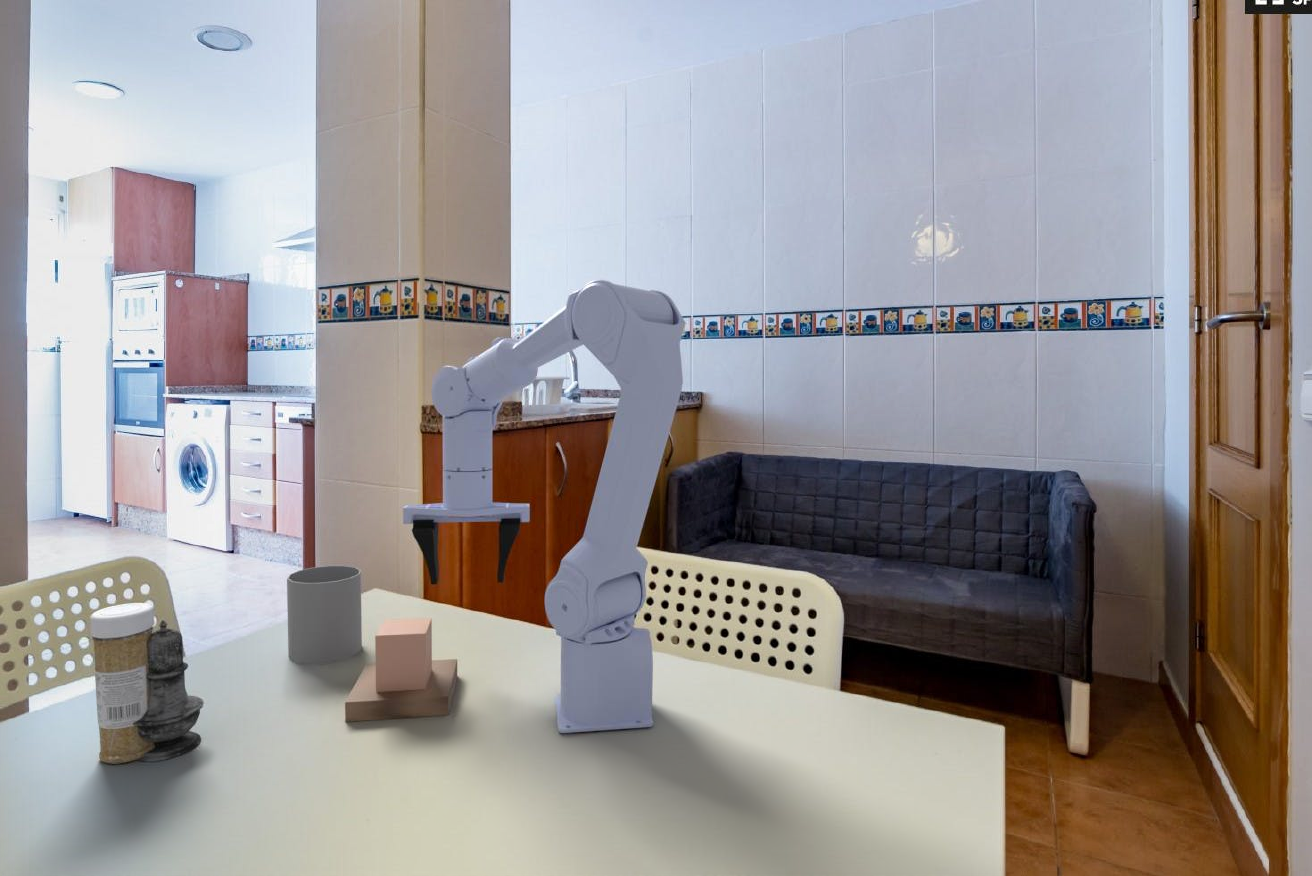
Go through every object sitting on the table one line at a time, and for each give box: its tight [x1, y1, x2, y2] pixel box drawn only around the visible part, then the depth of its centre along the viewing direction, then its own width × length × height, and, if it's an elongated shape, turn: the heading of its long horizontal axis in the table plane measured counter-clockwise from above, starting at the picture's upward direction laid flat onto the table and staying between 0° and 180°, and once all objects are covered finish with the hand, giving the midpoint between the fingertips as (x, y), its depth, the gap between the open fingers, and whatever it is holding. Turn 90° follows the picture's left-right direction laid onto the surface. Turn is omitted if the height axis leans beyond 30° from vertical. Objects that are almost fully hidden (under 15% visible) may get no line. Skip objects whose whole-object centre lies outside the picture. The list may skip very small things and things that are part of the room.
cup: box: [286, 565, 363, 666], centre depth 89 cm, size 8×8×10 cm
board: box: [344, 658, 458, 723], centre depth 77 cm, size 10×10×2 cm
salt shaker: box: [133, 619, 205, 763], centre depth 65 cm, size 6×6×12 cm
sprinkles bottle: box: [89, 602, 156, 765], centre depth 64 cm, size 5×5×13 cm
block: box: [374, 617, 433, 692], centre depth 76 cm, size 5×5×6 cm
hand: (468, 581), depth 85 cm, fingers open, 7 cm apart
